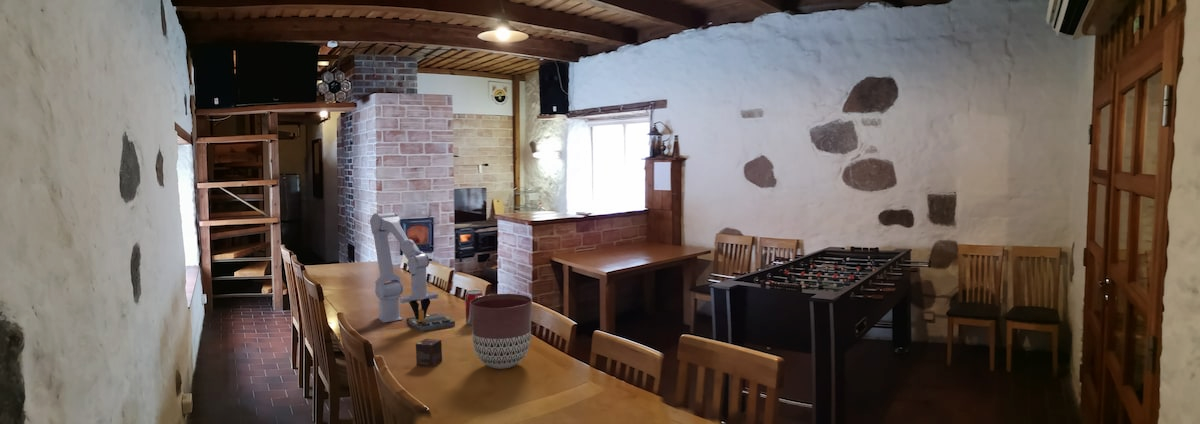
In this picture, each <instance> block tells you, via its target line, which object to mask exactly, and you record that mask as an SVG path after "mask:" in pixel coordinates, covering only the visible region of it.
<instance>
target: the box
mask: <svg viewBox="0 0 1200 424" xmlns="http://www.w3.org/2000/svg"><path fill="white" fill-rule="evenodd" d="M415 354H416V356H415V358H416V366H419V367H422V366H423V367H430V368H433V367H436V366H437V365H438V364H440V363H442V362H443V348H442V339H433V338H425V339H422V340H420V341H419V342H417V343H415Z"/></svg>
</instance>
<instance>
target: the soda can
mask: <svg viewBox="0 0 1200 424" xmlns="http://www.w3.org/2000/svg"><path fill="white" fill-rule="evenodd" d="M465 293H466V294H465V296H464V297H465V299H464V301H465V304H464V305H465V323H466V324H467V325H468V326H472V324H471V312H470V301H471V300H473V299H475V298H477V297H481V296H484V294H483V291H482V290H479V289H478V290H477V289H472V290H468V291H466V292H465Z"/></svg>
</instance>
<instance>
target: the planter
mask: <svg viewBox="0 0 1200 424" xmlns="http://www.w3.org/2000/svg"><path fill="white" fill-rule="evenodd" d="M532 311H533V299H532V298H531V297H530V296H527V295H523V294H517V293H497V294H496V293H495V294H494V293H493V294H487V295H483V296H481V297H477V298H475V299H473V300H471V301H470V312H471V324H472V325H471V333H472V344H473V348H474V352H475V354H476V356H477V357H478V359H479V360H480V361H481V362H482V363H484V364H485V366H487V367H489V368H493V369H497V370H502V369H503V370H504V369H505V370H506V369H509V368H512V367H515V366H516V365H518V364H519V363H520V362H521V361H522V360H523V359H524V358H525V357H526V355H527V353H528V351H529V348H530V345H531V337H532V335H531V334H532V332H531V331H532V314H533V313H532Z"/></svg>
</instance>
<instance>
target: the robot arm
mask: <svg viewBox="0 0 1200 424" xmlns="http://www.w3.org/2000/svg"><path fill="white" fill-rule="evenodd" d="M369 225H370V228H371V234H372V235H373V240H374V246H375V251H376V252H375V253H376V258H377V261H378V262H377V264H378V268H379V269H378V270H379V277H378V278H377V279H376V280H375V290H374V291H375V295H376V297H377V298H378V300H379V301H378V307H379V308H378V310H379V312H378V313H379V316H376V318H377V319H378V320H379V321H380V322H382V323H389V322H397V321H402V320H403V317H401V316H400V303H401V304H405V303H408V304H409V306H410V308H411V309H412V312H413V314H414V316H415V319H416V320H419V314H418V309H422V310H424V319H425V316H426V315H427V311H428V309H429V307H430V304H431V300H434V299H439V293H438V292H432V293H428V289H427V287H428V285H427V268H428V266H429V265H430V258H429V256H428V254H427V253H426V252H423V251H422V250H420V249H419V247H418V246H417V244H416V243H415V242H414V240H413V239H411V238H410V239H409V238H408V236H407V234H406V232H405V231H404V229H403V228H402V225H401V217H400V216H399V215H398V213H397V212H396V211H389V212H379V213H377V212H376V213H373V214H372V216H371V217H370V219H369ZM390 233H391V234H392V235H393V236H394V238H395V240H397V241H398V242H399V244H400V246H399V249H400V251H402V254H403V255H404V256H405V258H406V259H407V262H406V263H407V267H408V270H409V273H410V279H411V280H410V281H411V295H408V296H403V297H401V295H402V294H403V292H404V286H403V285H404V284H403V283H402V281H401V277H400V276H399V275H397V274H396V273H395V272H394V271H395V270H394V265H393V262H392V261H393V260H392V255H391V254H392V253H391V249H390V243H389V239H388V237H389V234H390ZM419 302H420V304H419ZM420 306H421V308H419V307H420Z"/></svg>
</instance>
